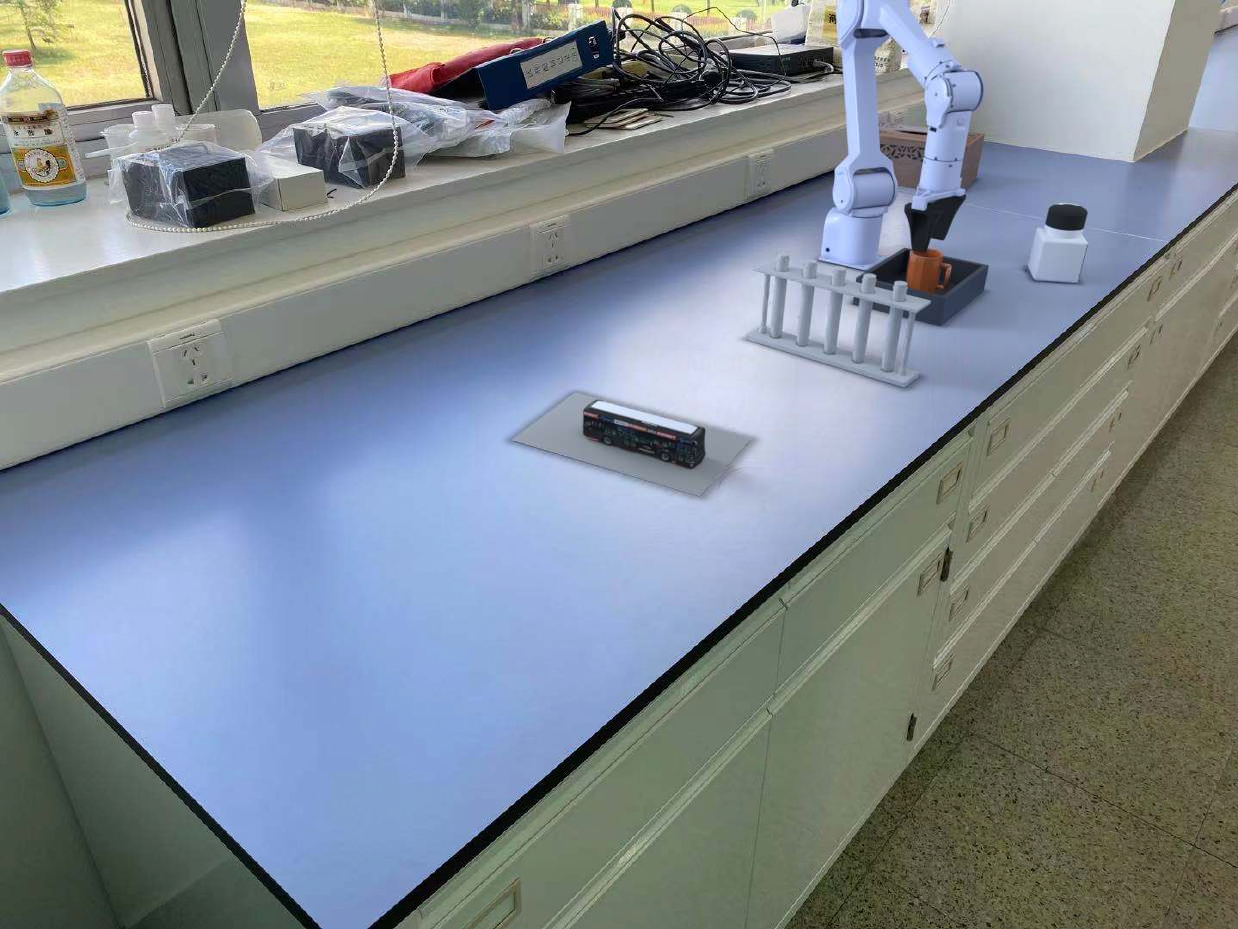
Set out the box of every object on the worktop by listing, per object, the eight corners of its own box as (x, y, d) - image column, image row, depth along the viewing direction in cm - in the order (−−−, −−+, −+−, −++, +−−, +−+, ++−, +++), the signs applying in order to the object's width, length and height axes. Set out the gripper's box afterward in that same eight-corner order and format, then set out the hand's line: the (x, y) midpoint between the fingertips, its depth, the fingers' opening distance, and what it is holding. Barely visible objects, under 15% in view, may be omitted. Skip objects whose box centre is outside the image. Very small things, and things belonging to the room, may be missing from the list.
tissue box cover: (976, 178, 219) (984, 133, 214) (959, 193, 209) (968, 146, 203) (867, 163, 231) (873, 120, 226) (846, 177, 220) (851, 132, 215)
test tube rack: (918, 376, 131) (934, 284, 124) (904, 388, 128) (920, 294, 121) (762, 330, 144) (769, 244, 138) (746, 339, 141) (752, 252, 135)
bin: (852, 304, 153) (856, 277, 151) (900, 272, 166) (904, 247, 164) (940, 326, 146) (945, 298, 144) (983, 291, 158) (989, 264, 156)
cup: (898, 295, 155) (905, 253, 152) (911, 286, 159) (918, 245, 155) (939, 305, 152) (946, 262, 148) (950, 296, 155) (958, 254, 152)
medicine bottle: (1078, 284, 161) (1096, 213, 155) (1033, 280, 163) (1050, 210, 156) (1070, 269, 167) (1087, 201, 161) (1027, 266, 169) (1042, 198, 162)
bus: (699, 496, 105) (701, 463, 103) (511, 439, 116) (509, 409, 114) (750, 439, 116) (753, 408, 114) (575, 392, 126) (574, 363, 124)
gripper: (951, 170, 137) (935, 262, 144) (986, 151, 147) (969, 238, 154) (904, 163, 141) (891, 252, 148) (942, 145, 151) (927, 230, 158)
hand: (928, 244), depth 151 cm, fingers open, 7 cm apart
